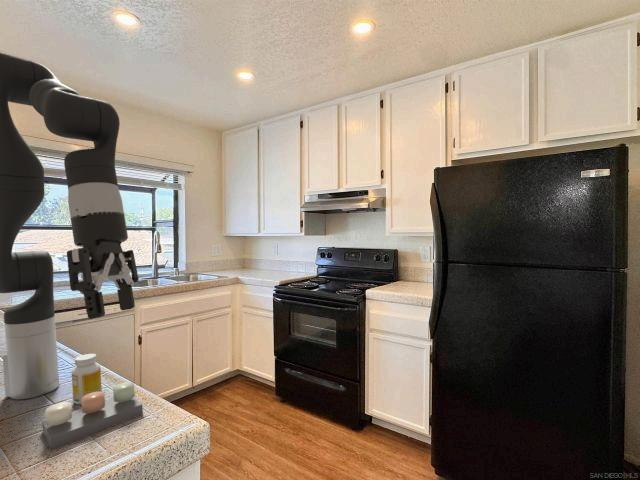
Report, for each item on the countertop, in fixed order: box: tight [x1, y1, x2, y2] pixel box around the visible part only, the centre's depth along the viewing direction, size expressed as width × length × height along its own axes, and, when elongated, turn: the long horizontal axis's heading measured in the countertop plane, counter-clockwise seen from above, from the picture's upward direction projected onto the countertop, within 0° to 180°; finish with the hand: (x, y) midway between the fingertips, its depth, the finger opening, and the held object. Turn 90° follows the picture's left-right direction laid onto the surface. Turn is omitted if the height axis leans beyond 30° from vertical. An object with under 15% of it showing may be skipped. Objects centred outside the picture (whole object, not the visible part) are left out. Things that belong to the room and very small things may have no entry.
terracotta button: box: [81, 391, 106, 413], centre depth 69 cm, size 4×4×2 cm
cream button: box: [45, 401, 73, 426], centre depth 65 cm, size 4×4×2 cm
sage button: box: [112, 381, 136, 402], centre depth 73 cm, size 4×4×2 cm
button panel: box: [41, 396, 144, 450], centre depth 69 cm, size 15×8×2 cm, turn 136°
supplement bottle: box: [71, 353, 103, 405], centre depth 79 cm, size 5×5×10 cm
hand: (113, 313), depth 57 cm, fingers open, 8 cm apart
